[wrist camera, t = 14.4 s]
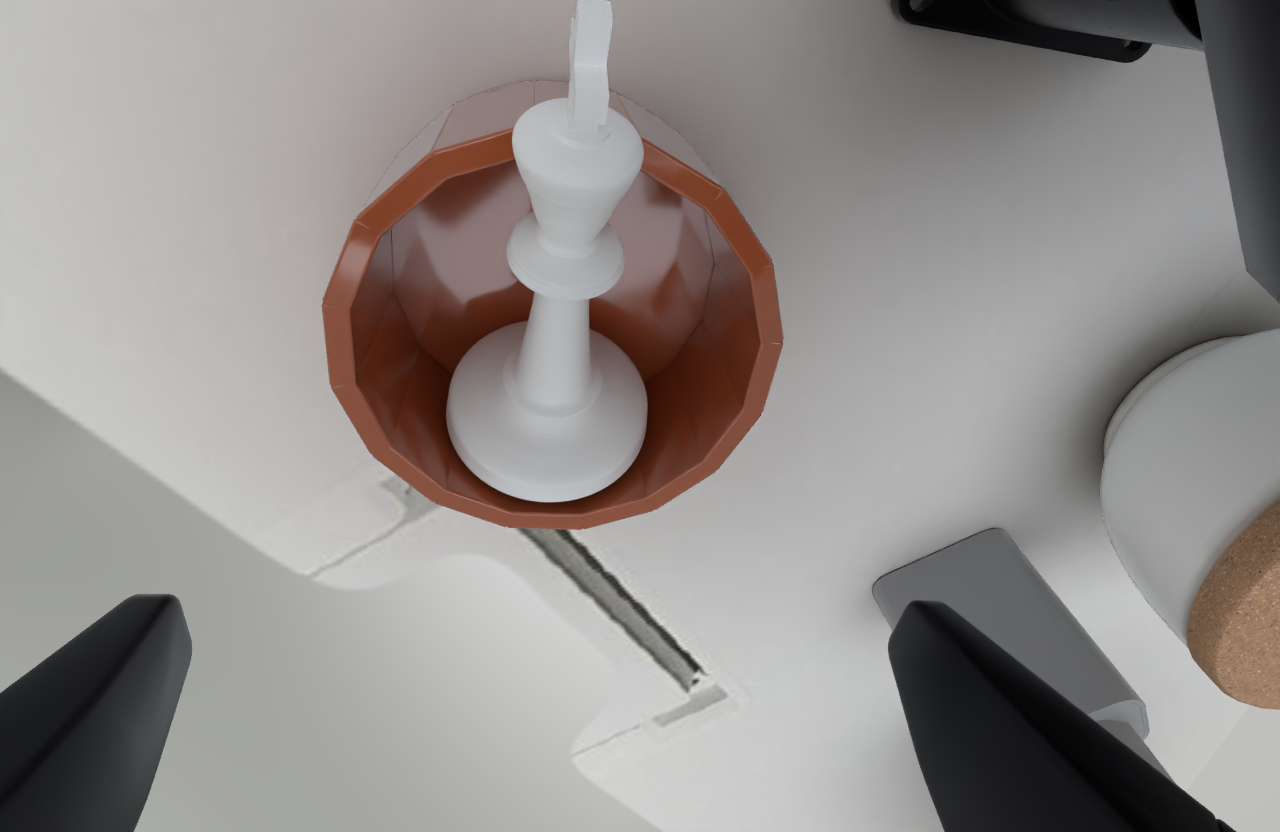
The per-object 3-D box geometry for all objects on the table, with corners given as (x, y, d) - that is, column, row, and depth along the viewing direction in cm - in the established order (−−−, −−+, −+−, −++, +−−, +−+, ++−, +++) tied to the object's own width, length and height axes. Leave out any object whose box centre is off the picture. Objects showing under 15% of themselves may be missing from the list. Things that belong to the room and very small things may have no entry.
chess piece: (440, 504, 16) (369, 114, 7) (451, 329, 18) (409, -115, 10) (655, 502, 17) (816, 154, 8) (637, 336, 19) (747, -63, 11)
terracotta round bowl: (762, 109, 17) (838, 164, 12) (690, 422, 21) (727, 535, 17) (364, 50, 15) (299, 90, 11) (382, 403, 20) (342, 524, 16)
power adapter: (867, 583, 27) (1063, 957, 17) (1003, 522, 26) (1296, 880, 16) (889, 626, 28) (1080, 989, 18) (1018, 570, 27) (1291, 921, 18)
